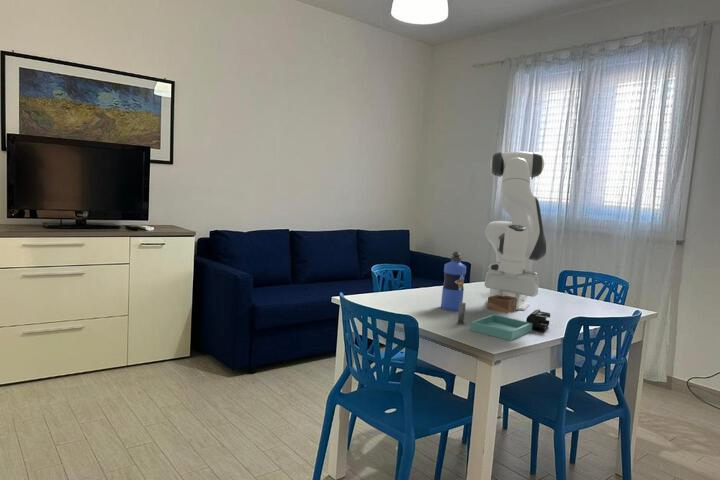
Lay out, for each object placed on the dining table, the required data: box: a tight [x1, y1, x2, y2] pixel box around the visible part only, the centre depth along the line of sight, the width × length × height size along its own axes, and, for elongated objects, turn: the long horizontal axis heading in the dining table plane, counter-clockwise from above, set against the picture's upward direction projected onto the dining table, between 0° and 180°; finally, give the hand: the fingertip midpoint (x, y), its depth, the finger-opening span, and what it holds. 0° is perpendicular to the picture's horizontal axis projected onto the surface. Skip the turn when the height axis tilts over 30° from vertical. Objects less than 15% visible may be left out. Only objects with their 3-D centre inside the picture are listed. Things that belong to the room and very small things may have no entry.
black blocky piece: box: [525, 309, 551, 333], centre depth 204 cm, size 10×7×7 cm
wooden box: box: [486, 295, 517, 314], centre depth 197 cm, size 13×8×4 cm, turn 141°
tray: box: [469, 313, 533, 341], centre depth 197 cm, size 20×16×3 cm
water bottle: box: [440, 251, 467, 312], centre depth 227 cm, size 9×9×25 cm
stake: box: [457, 302, 466, 325], centre depth 203 cm, size 2×2×8 cm
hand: (508, 303), depth 200 cm, fingers closed on wooden box, 3 cm apart
